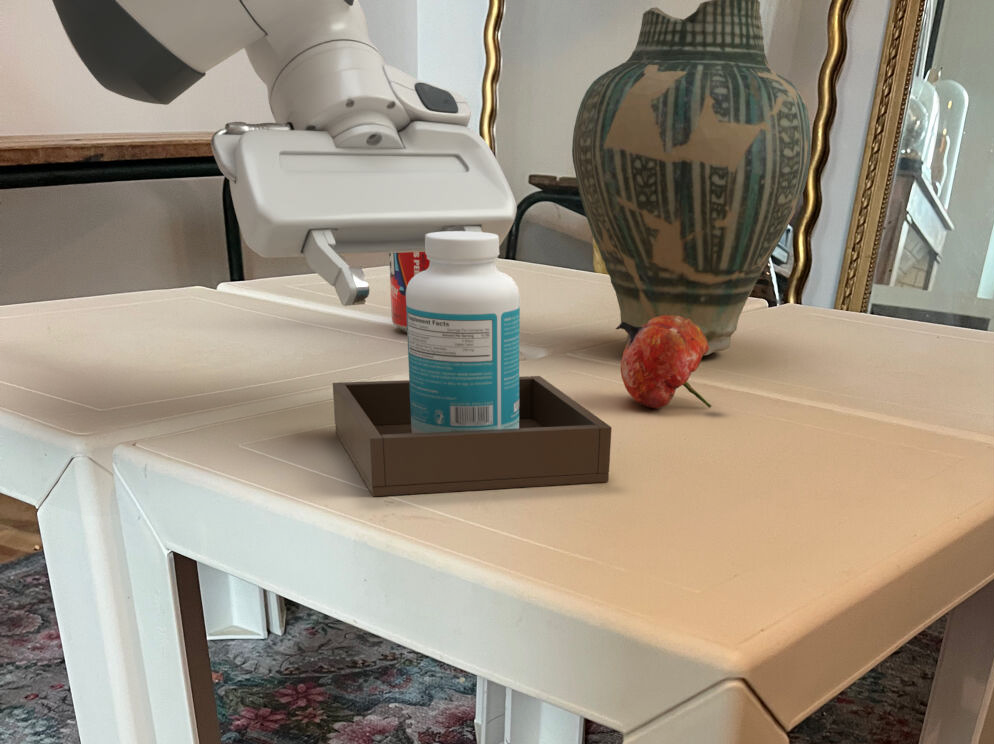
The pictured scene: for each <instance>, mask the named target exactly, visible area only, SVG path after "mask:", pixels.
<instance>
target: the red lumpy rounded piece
mask: <svg viewBox="0 0 994 744" xmlns="http://www.w3.org/2000/svg"><path fill="white" fill-rule="evenodd" d="M615 329H616V330H620V329H621V330H624V332H626V334H627V337H629V342H628V344H627V345H626V346H624V347H625V348H624V350H623V352H622V357H621V358H620V359H621V360H620V374H621V380H622V383H623V385H624V387H625V389H626V391H627V393H628V395H630V396H631V398H632V399H633V400H634V401H636V402H637V403H639V404H640V405H642V406H643V405H644V406H645V407H647V408H651V409H661V408H663V407H666V406H667V405H669V404H670V402H671V400H672V399H673V397H674V396H675V393H676V392H677V391H676V390H677V389H678V388H679V387H682V386H683V387H685V389H686V390H687V391H688V392H689V393H691V394H692V395H694V396H695V397H696V398H697V399H698V400H700V401H701V402H702V403H703V404H705V406H706V407H708V409H710V408H711V407H712V405H711V403H708V402H707V400H706V399H705V398H704V397H703V396H702V395H701V394H699V393H698V392H697V391H696V390H695V389H694V388H693V387H692V386H691V384H690V383H689V381H688V380H689V379H690V377H691V374H692V373H694V372H696V370H697V369H698V368H699V366H700V364H701V361H702V358H704V357H703V355H704V356H706V355H705V354H706V353H707V352H708V351H709V346H708V342H707V339H706V337H705V335H704V334H703V332H702V331H701V330H700V328H699V327H698V326H696V325H695V324H694V323H693V322H692V321H691V320H690V319H684V318H683V317H681V316H674V315H661V316H659V317H655V318H653V319H651V320H649V321H648V323H647V324H646V325H643V326H642V327H634V326H632V325H630V324H628V323H626V322H621V321H620V323H619V324H618V326H617V327H616V328H615Z"/></svg>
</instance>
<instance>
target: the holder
mask: <svg viewBox="0 0 994 744" xmlns="http://www.w3.org/2000/svg"><path fill="white" fill-rule="evenodd" d="M332 395H333V408H334V409H333V410H334V411H333V413H334V426H335V427H334V428H335V434H336V435H337V437H338V440H339V441H340V442H341V444H342V446H343V447H344V449H345V451H346V453H347V455H348V456H349V458H350V459H351V461H352V463H353V465H354V466H355V468H356V469H357V471H358V474H359V475H360V477H361V478H362V480H363V482H364V483H365V485H366V486H367V489H368V490H369V493H371V495H372V497H385V496H401V495H402V496H403V495H419V494H431V493H432V494H433V493H435V494H436V493H451V492H465V491H480V490H481V491H482V490H483V491H485V490H497V489H498V490H499V489H516V488H530V487H531V488H532V487H546V486H547V487H548V486H563V485H564V486H565V485H579V484H592V483H593V484H596V483H608V482H609V476H610V475H609V473H610V462H611V447H612V446H611V444H612V430H613V429H612V426H611V425H610V424H608V423H606V422H605V421H603V420H602V419H601V418H599V417H598V416H596V415H595V414H594V413H592V412H591V411H590V410H589V409H587V408H586V407H584V406H582V405H581V404H580V403H579V402H577V401H576V400H574V399H573V398H572V397H570V396H568V395H567V394H566V393H565V392H563V391H562V390H560V389H559V388H557V387H556V386H555V385H554V384H552V383H551V382H550V381H547V380H546V379H545V378H543V377H542V376H541V375H530V376H529V375H528V376H527V375H526V376H519V428H517V429H495V430H474V431H452V432H431V433H412V430H411V408H410V384H409V379H407V380H406V379H404V380H378V381H377V380H376V381H375V380H374V381H373V380H372V381H348V382H347V381H346V382H345V381H344V382H341V381H340V382H332Z"/></svg>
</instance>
